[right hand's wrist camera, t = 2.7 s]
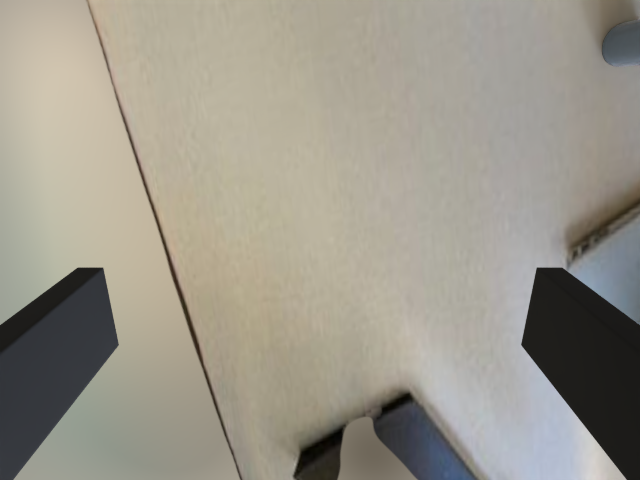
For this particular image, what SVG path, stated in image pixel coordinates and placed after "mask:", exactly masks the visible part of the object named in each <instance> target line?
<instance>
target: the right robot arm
mask: <svg viewBox="0 0 640 480" xmlns="http://www.w3.org/2000/svg"><path fill="white" fill-rule="evenodd" d="M118 345H119V344H118V339H117V334H116V329H115V324H114V319H113V314H112V309H111V304H110V299H109V294H108V289H107V284H106V279H105V274H104V269H103V268H77V269H75V270H74V271H73V272H71V273H70V274H69V275H67V276H66V277H65V278H63V279H62V280H61V281H59V282H58V283H57V284H55V285H54V286H52V287H51V288H50V289H48V290H47V291H46V292H44V293H43V294H42V295H40V296H39V297H38V298H36V299H35V300H34V301H32V302H31V303H30V304H28V305H27V306H26V307H24V308H23V309H21V310H20V311H19V312H17V313H16V314H15V315H13V316H12V317H11V318H9V319H8V320H7V321H5V322H4V323H3V324H1V325H0V480H13V479H14V478H15V477H16V475H17V474H18V473H19V472H20V470H21V469H22V468H23V466H24V465H25V464H26V463H27V461H28V460H29V459H30V458H31V456H32V455H33V454H34V452H35V451H36V450H37V449H38V447H39V446H40V445H41V443H42V442H43V441H44V440H45V438H46V437H47V436H48V435H49V433H50V432H51V431H52V429H53V428H54V427H55V426H56V424H57V423H58V422H59V421H60V419H61V418H62V417H63V415H64V414H65V413H66V412H67V410H68V409H69V408H70V407H71V405H72V404H73V403H74V401H75V400H76V399H77V397H78V396H79V395H80V394H81V392H82V391H83V390H84V389H85V387H86V386H87V385H88V384H89V382H90V381H91V380H92V378H93V377H94V376H95V375H96V373H97V372H98V371H99V369H100V368H101V367H102V366H103V364H104V363H105V362H106V361H107V359H108V358H109V357H110V355H111V354H112V353H113V352H114V350H115V349H116V348H117V346H118ZM521 345H522V347H523V348H524V349H525V350H526V352H527V353H528V354H529V355H530V357H531V358H532V359H533V361H534V362H535V363H536V364H537V366H538V367H539V368H540V369H541V371H542V372H543V373H544V375H545V376H546V377H547V378H548V380H549V381H550V382H551V384H552V385H553V386H554V387H555V389H556V390H557V391H558V392H559V394H560V395H561V396H562V398H563V399H564V400H565V401H566V403H567V404H568V405H569V407H570V408H571V409H572V410H573V412H574V413H575V414H576V415H577V417H578V418H579V419H580V421H581V422H582V423H583V424H584V426H585V427H586V428H587V429H588V431H589V432H590V433H591V435H592V436H593V437H594V438H595V440H596V441H597V442H598V444H599V445H600V446H601V447H602V449H603V450H604V451H605V452H606V454H607V455H608V456H609V458H610V459H611V460H612V461H613V463H614V464H615V465H616V466H617V468H618V469H619V470H620V472H621V473H622V474H623V475H624V477H625V478H626V479H627V480H640V325H639V324H637V323H636V322H635V321H633V320H632V319H631V318H629V317H628V316H627V315H625V314H624V313H623V312H621V311H620V310H619V309H617V308H616V307H615V306H613V305H612V304H610V303H609V302H608V301H606V300H605V299H604V298H602V297H601V296H600V295H598V294H597V293H596V292H594V291H593V290H592V289H590V288H589V287H588V286H586V285H585V284H583V283H582V282H581V281H579V280H578V279H577V278H575V277H574V276H573V275H571V274H570V273H569V272H567V271H566V270H565V269H563V268H537V269H536V274H535V279H534V284H533V289H532V294H531V299H530V304H529V309H528V314H527V319H526V324H525V329H524V334H523V339H522V344H521Z"/></svg>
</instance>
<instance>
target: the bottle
mask: <svg viewBox="0 0 640 480" xmlns="http://www.w3.org/2000/svg"><path fill="white" fill-rule="evenodd" d="M602 54H603V57H604V59H605V61H606V62H607V63H608V64H610V65H612V66H616V67H621V66H635V65H640V19H638V20H633V21H629V22H624V23H621V24H618V25H617V26H615V27H614V28H613V29H611V31H610V32H609V33H608V34H607V36H606V37H605V39H604V42H603V46H602Z"/></svg>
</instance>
